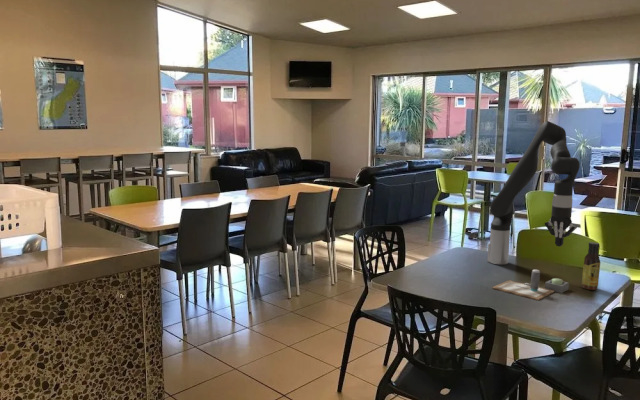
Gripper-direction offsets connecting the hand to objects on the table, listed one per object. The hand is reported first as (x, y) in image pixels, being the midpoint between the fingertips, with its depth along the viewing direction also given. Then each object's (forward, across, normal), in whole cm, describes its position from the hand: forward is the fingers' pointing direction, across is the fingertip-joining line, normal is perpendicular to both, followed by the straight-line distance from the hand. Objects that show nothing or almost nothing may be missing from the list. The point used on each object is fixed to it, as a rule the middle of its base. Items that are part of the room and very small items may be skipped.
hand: (558, 245), depth 217 cm
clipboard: (+19, +8, +12) cm, 24 cm away
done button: (+18, 0, 0) cm, 18 cm away
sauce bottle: (+19, -10, -12) cm, 24 cm away
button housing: (+19, 0, 0) cm, 19 cm away
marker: (+18, +4, +10) cm, 21 cm away
